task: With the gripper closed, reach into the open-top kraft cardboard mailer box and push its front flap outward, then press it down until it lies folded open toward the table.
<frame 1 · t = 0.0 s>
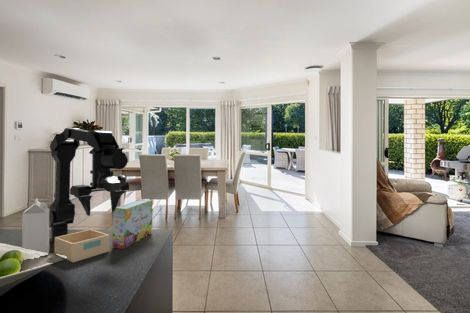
hand: (101, 213, 104), 15 cm above the counter, tool pointing down, fingers open, 9 cm apart
front flap: (92, 247, 103), point 3 cm above the counter, hinge at 0.0°
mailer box: (82, 253, 106), on the counter
milk carton: (36, 255, 104), on the counter
snack box: (133, 240, 122), on the counter
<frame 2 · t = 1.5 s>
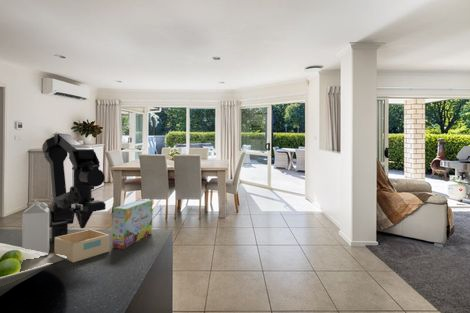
hand: (82, 228, 106), 9 cm above the counter, tool pointing down, fingers closed
nothing on the counter moved.
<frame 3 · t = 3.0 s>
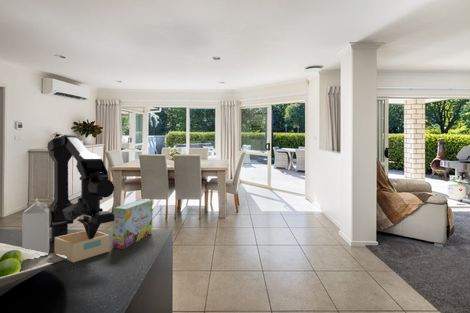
hand: (90, 239, 103), 6 cm above the counter, tool pointing down, fingers closed, pressing on front flap
front flap: (92, 247, 103), point 3 cm above the counter, hinge at 0.0°, touching gripper
everything else where it was.
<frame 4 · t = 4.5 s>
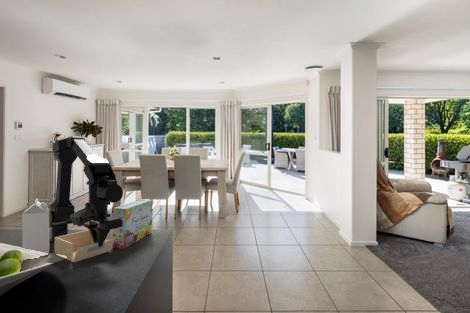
hand: (98, 245, 101), 4 cm above the counter, tool pointing down, fingers closed
front flap: (94, 249, 102), point 3 cm above the counter, hinge at 32.3°, touching gripper
everything else where it was.
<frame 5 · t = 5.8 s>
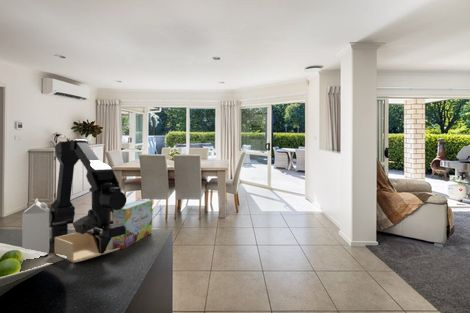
hand: (101, 253, 100), 2 cm above the counter, tool pointing down, fingers closed, pressing on front flap
front flap: (97, 255, 101), point 1 cm above the counter, hinge at 70.3°, touching gripper
everything else where it was.
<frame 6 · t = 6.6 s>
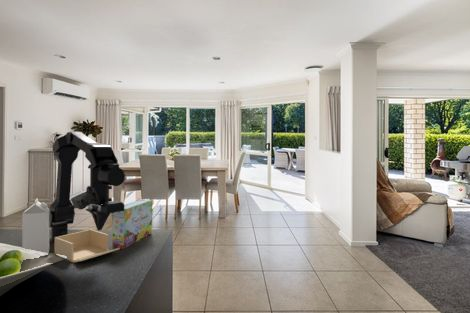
hand: (99, 230, 100), 10 cm above the counter, tool pointing down, fingers closed
front flap: (97, 255, 101), point 1 cm above the counter, hinge at 70.7°
everything else where it was.
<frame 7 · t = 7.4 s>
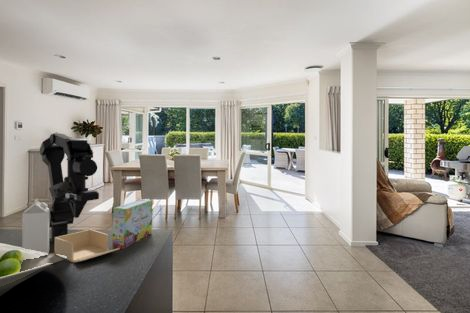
hand: (76, 217, 108), 12 cm above the counter, tool pointing down, fingers closed
nothing on the counter moved.
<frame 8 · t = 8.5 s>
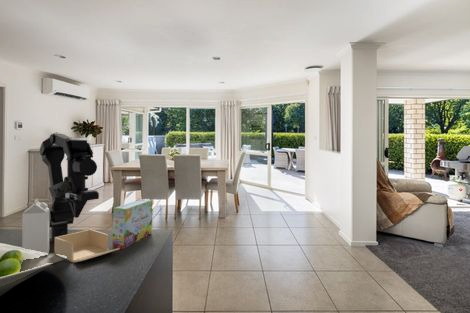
hand: (76, 217, 108), 12 cm above the counter, tool pointing down, fingers closed
nothing on the counter moved.
at the end: front flap at +71° (first picture: +0°) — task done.
